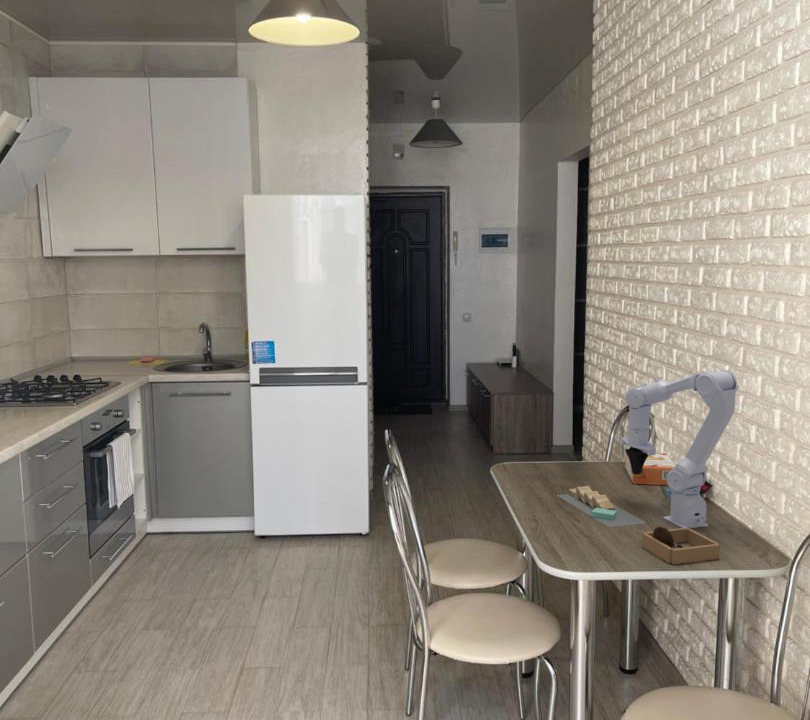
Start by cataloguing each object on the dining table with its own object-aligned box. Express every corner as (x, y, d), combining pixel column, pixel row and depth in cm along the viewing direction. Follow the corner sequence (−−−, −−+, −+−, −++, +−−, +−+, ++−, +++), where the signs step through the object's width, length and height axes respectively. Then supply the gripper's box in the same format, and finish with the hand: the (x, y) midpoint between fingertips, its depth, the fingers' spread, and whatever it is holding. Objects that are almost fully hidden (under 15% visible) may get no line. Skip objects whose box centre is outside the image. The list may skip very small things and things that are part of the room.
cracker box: (633, 466, 254) (624, 451, 275) (632, 484, 255) (624, 467, 275) (678, 467, 252) (666, 452, 273) (677, 486, 253) (665, 469, 273)
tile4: (597, 498, 234) (588, 486, 239) (586, 499, 232) (576, 487, 237) (596, 502, 234) (587, 490, 239) (584, 503, 233) (575, 491, 238)
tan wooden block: (606, 503, 229) (596, 491, 234) (594, 504, 228) (584, 492, 233) (605, 507, 230) (595, 495, 235) (593, 509, 228) (583, 496, 234)
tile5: (590, 493, 238) (580, 488, 244) (578, 494, 237) (568, 489, 242) (589, 498, 238) (579, 493, 244) (578, 499, 237) (568, 494, 243)
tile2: (615, 507, 225) (605, 494, 230) (602, 509, 224) (592, 495, 229) (613, 512, 226) (603, 499, 231) (601, 513, 224) (591, 500, 229)
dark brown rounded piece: (692, 554, 195) (694, 525, 195) (669, 559, 192) (670, 530, 191) (668, 543, 203) (669, 516, 202) (645, 548, 199) (646, 521, 198)
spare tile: (616, 511, 222) (595, 507, 225) (613, 515, 218) (591, 511, 221) (616, 516, 222) (595, 513, 225) (612, 520, 218) (591, 517, 221)
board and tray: (720, 558, 192) (721, 544, 192) (667, 565, 188) (668, 551, 188) (599, 492, 246) (600, 481, 245) (556, 496, 242) (556, 485, 241)
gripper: (665, 432, 224) (663, 479, 225) (636, 422, 237) (634, 466, 239) (644, 434, 221) (641, 481, 223) (615, 423, 235) (613, 467, 237)
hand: (636, 473), depth 231 cm, fingers closed
